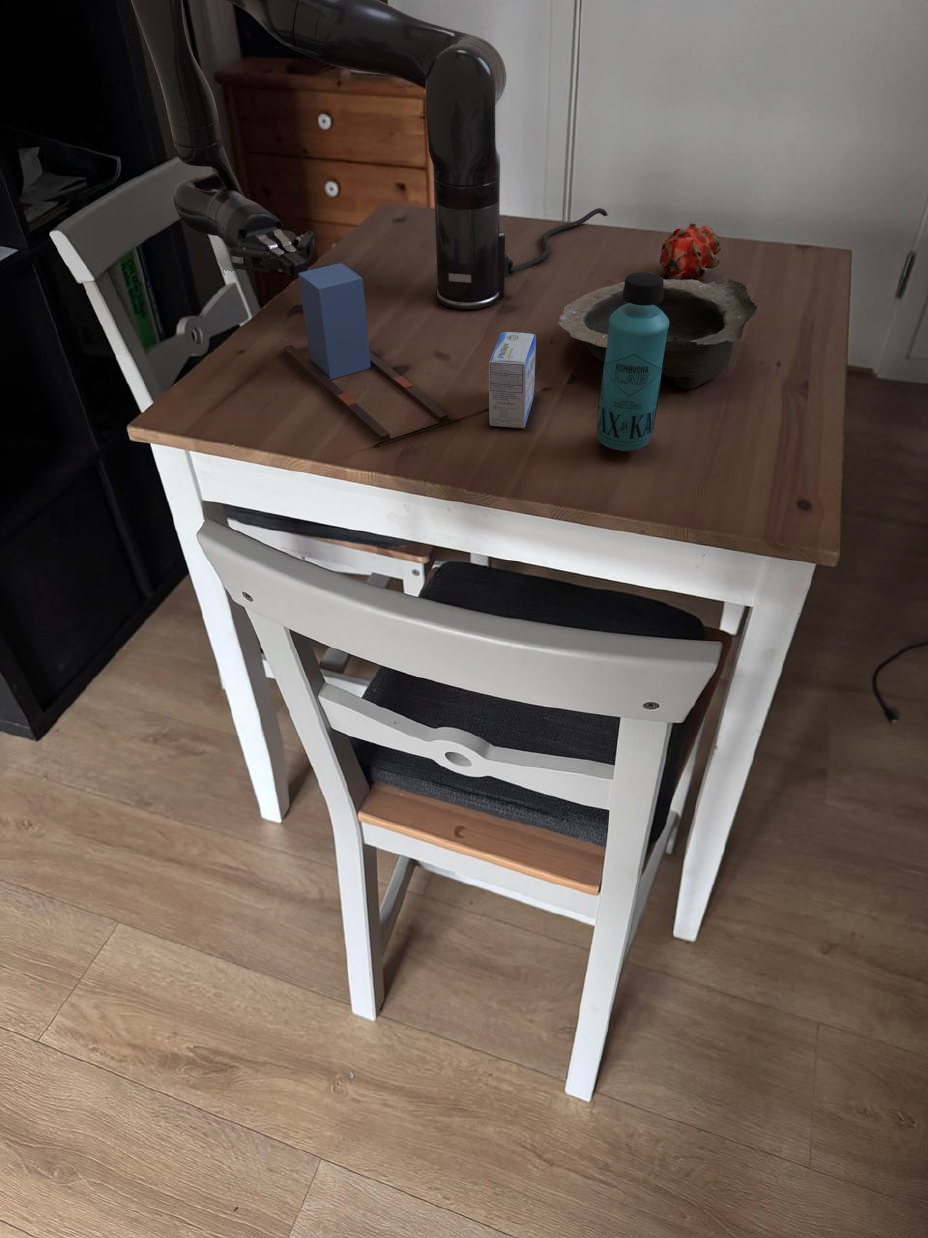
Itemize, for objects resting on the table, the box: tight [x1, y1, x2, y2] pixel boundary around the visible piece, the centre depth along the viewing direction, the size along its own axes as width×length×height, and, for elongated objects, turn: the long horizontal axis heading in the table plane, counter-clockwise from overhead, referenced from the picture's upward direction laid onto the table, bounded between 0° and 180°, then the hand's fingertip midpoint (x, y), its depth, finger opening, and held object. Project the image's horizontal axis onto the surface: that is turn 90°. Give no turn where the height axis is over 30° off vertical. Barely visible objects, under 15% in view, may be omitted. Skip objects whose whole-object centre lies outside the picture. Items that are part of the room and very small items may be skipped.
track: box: [283, 344, 452, 448], centre depth 115 cm, size 10×28×1 cm, turn 32°
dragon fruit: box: [659, 222, 722, 281], centre depth 138 cm, size 8×8×12 cm
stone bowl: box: [557, 278, 759, 390], centre depth 117 cm, size 25×25×9 cm
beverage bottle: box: [595, 271, 669, 452], centre depth 97 cm, size 6×7×20 cm
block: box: [298, 262, 372, 381], centre depth 115 cm, size 6×6×12 cm
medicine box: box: [488, 331, 537, 429], centre depth 107 cm, size 8×4×9 cm, turn 168°
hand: (300, 270), depth 118 cm, fingers closed
